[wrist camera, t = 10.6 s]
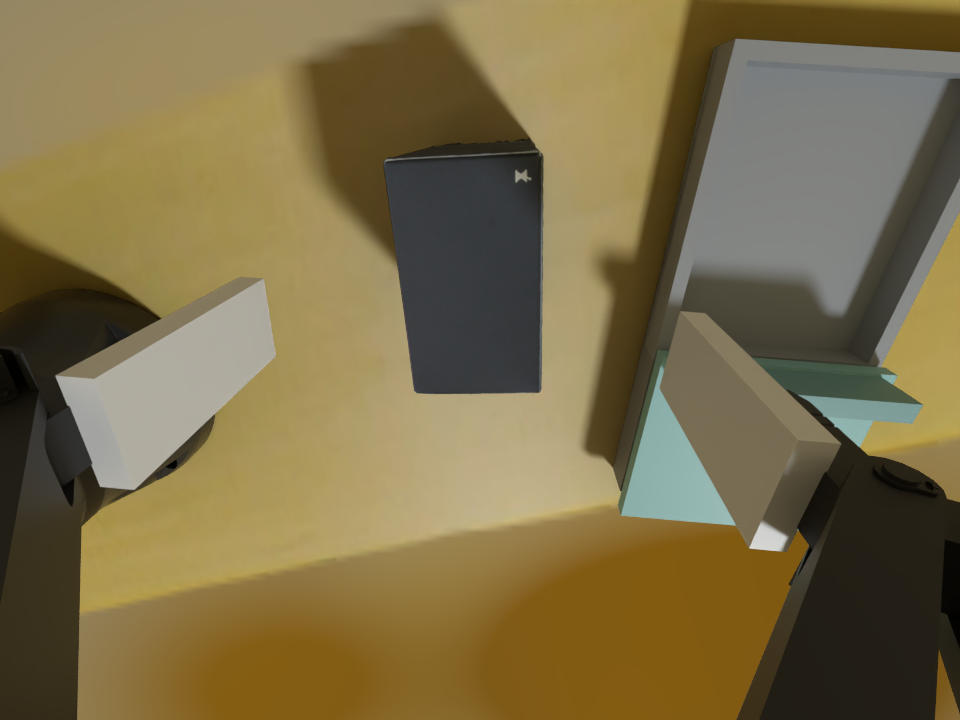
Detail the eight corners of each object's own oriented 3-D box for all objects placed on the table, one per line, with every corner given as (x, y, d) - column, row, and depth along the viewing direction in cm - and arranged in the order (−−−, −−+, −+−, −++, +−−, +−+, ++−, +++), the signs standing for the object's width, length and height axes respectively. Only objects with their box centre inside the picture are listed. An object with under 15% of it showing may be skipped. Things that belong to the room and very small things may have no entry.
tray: (613, 468, 36) (620, 490, 34) (714, 47, 24) (735, 38, 21) (790, 483, 35) (809, 506, 33) (987, 63, 23) (1038, 57, 21)
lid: (617, 505, 34) (630, 549, 30) (657, 350, 28) (679, 382, 25) (806, 521, 33) (841, 568, 30) (885, 367, 28) (940, 402, 24)
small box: (421, 144, 26) (372, 152, 17) (535, 137, 26) (550, 142, 17) (438, 317, 31) (408, 398, 22) (535, 314, 31) (547, 396, 21)
